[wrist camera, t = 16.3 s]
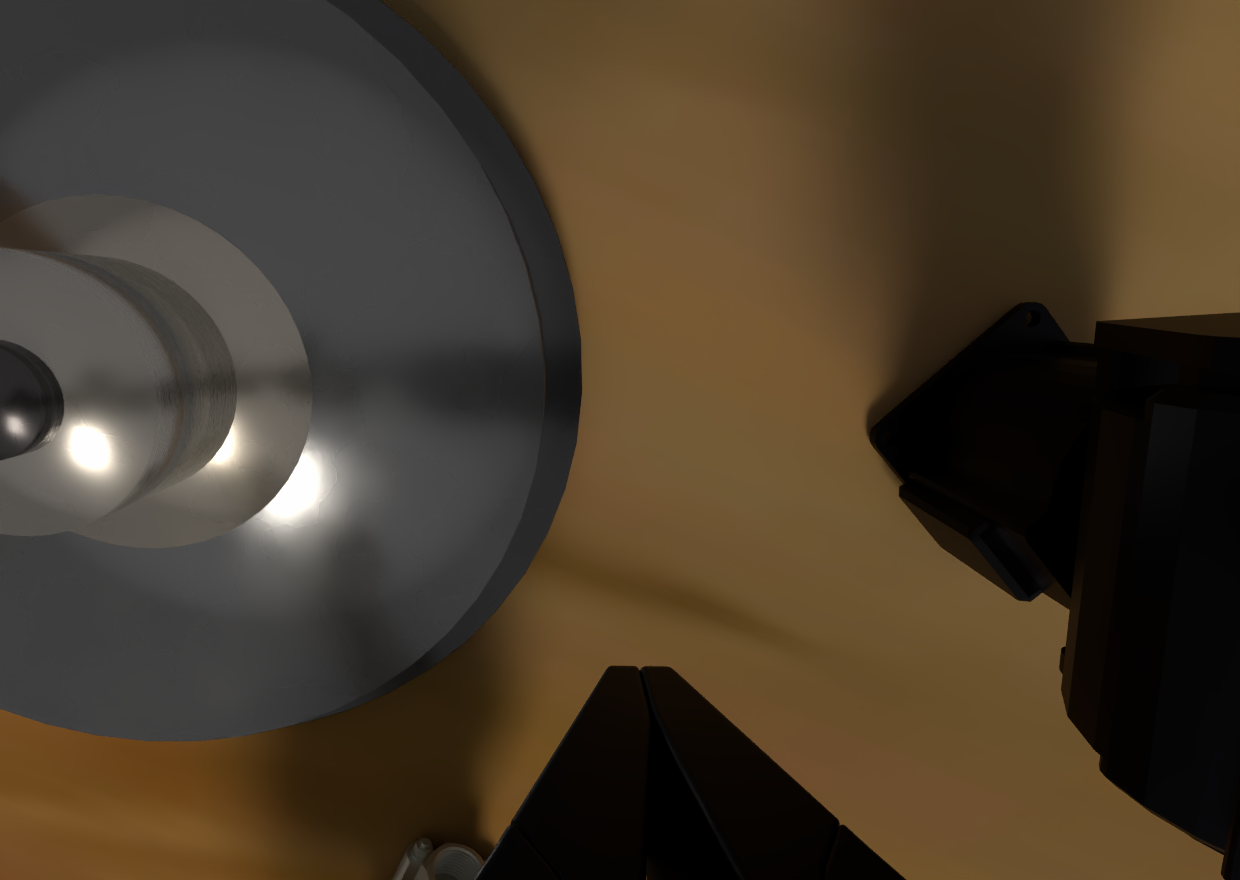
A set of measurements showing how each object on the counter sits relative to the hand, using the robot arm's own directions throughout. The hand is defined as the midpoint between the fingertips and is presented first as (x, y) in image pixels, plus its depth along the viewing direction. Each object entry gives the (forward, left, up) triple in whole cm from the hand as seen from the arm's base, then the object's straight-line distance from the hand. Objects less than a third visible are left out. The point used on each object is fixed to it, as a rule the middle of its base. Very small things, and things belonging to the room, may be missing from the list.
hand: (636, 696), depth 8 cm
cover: (+7, -11, -9) cm, 16 cm away
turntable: (+7, -10, -11) cm, 16 cm away
